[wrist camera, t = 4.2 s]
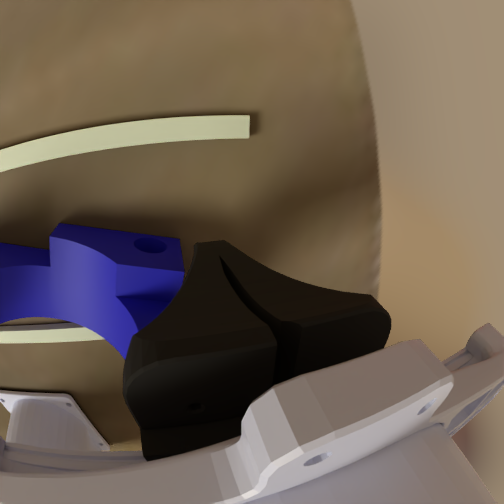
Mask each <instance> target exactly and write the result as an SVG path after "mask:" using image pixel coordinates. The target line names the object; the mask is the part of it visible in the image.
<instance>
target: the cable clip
mask: <svg viewBox="0 0 504 504" xmlns="http://www.w3.org/2000/svg"><path fill="white" fill-rule="evenodd" d="M49 241H50V250H46V249H39V248H32V247H26V246H19V245H12V244H6V243H0V324H1V323H3V322H7V321H10V320H14V319H19V318H26V317H50V318H57V319H62V320H66V321H70V322H73V323H76V324H79V325H81V326H83V327H86V328H88V329H90V330H92V331H93V332H95V333H97V334H98V335H100V336H101V337H103V338H104V339H105V340H107V341H108V342H109V343H110V344H111V345H113V346H114V347H115V348H116V349H117V350H118V351H119V352H120V354H121V355H122V356H123V358H124V359H126V355H127V351H128V347H129V344H130V341H131V338H132V336H133V335H134V334H136V333H137V332H138V331H140V330H141V329H143V328H144V327H145V326H147V325H148V324H149V323H151V322H152V321H153V320H154V319H155V318H157V317H158V316H159V315H160V314H161V313H162V311H163V310H164V309H165V308H166V307H167V306H168V305H169V304H170V302H171V301H172V300H173V298H174V297H175V295H176V294H177V293H178V291H179V289H180V288H181V286H182V283H183V278H184V265H183V259H182V253H181V246H180V239H176V238H169V237H161V236H154V235H146V234H139V233H131V232H124V231H116V230H109V229H101V228H93V227H86V226H78V225H71V224H63V223H59V224H58V226H57V227H56V228H55V230H54V231H53V232H52V234H51V235H50V236H49Z"/></svg>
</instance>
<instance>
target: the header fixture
mask: <svg viewBox="0 0 504 504" xmlns="http://www.w3.org/2000/svg"><path fill="white" fill-rule="evenodd" d="M249 125H250V116H249V115H212V116H188V117H172V118H160V119H149V120H140V121H132V122H124V123H117V124H110V125H103V126H97V127H91V128H86V129H81V130H75V131H70V132H66V133H61V134H57V135H52V136H48V137H44V138H40V139H36V140H32V141H28V142H25V143H21V144H18V145H14V146H11V147H8V148H4V149H1V150H0V172H2V171H6V170H10V169H13V168H17V167H21V166H25V165H29V164H33V163H37V162H41V161H46V160H50V159H55V158H59V157H64V156H69V155H75V154H80V153H86V152H92V151H98V150H104V149H111V148H118V147H125V146H133V145H142V144H151V143H161V142H173V141H186V140H203V139H230V138H249ZM101 339H104V338H103V337H101V336H100V335H98V334H97V333H95V332H93V331H92V330H90V329H88V328H86V327H83V326H81V325H79V324H76V323H59V324H42V325H21V326H0V343H48V342H70V341H87V340H101Z"/></svg>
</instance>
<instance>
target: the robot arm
mask: <svg viewBox="0 0 504 504" xmlns="http://www.w3.org/2000/svg"><path fill="white" fill-rule="evenodd" d="M390 330H391V318H390V315H389V313H388V312H387V311H386V310H385V309H384V308H383V307H382V306H381V305H380V304H379V303H378V302H377V300H376V299H375V298H374V297H373V296H372V295H368V294H359V293H350V292H342V291H337V290H332V289H327V288H322V287H318V286H314V285H311V284H307V283H304V282H301V281H298V280H295V279H292V278H290V277H287V276H285V275H283V274H280V273H278V272H276V271H274V270H271V269H269V268H268V267H266V266H264V265H262V264H260V263H258V262H257V261H255V260H253V259H252V258H250V257H249V256H247V255H246V254H244V253H243V252H241V251H240V250H238V249H237V248H235V247H234V246H232V245H231V244H229V243H228V242H226V241H225V240H221V241H211V242H202V243H196V244H195V245H194V257H193V260H192V264H191V267H190V269H189V272H188V274H187V276H186V278H185V280H184V282H183V284H182V286H181V288H180V289H179V291H178V293H177V294H176V295H175V297H174V298H173V300H172V301H171V302H170V304H169V305H168V306H167V307H166V308H165V309H164V310H163V311H162V313H161V314H160V315H159V316H158V317H157V318H155V319H154V320H153V321H152V322H151V323H149V324H148V325H147V326H145V327H144V328H143V329H141V330H140V331H138V332H137V333H136V334H134V335H133V336H132V338H131V341H130V344H129V347H128V351H127V355H126V359H125V365H124V371H123V396H124V399H125V402H126V404H127V406H128V408H129V410H130V412H131V413H132V415H133V417H134V419H135V421H136V422H137V424H138V426H139V427H140V431H141V442H142V451H118V452H102V451H101V450H110V446H109V444H108V443H107V442H106V441H105V440H104V438H103V437H102V436H101V435H100V434H99V432H98V431H97V430H96V429H95V427H94V426H93V425H92V424H91V422H90V421H89V420H88V418H87V417H86V416H85V415H84V413H83V412H82V410H81V409H80V408H79V406H78V405H77V404H76V402H75V401H74V399H73V398H72V397H71V396H70V395H68V394H64V393H32V392H17V391H5V390H0V402H1V403H2V404H3V405H4V406H5V407H6V409H7V410H8V411H9V412H10V413H11V416H10V421H9V426H8V432H7V437H6V441H4V439H3V438H2V437H1V436H0V504H497V502H496V501H495V499H494V498H493V496H492V495H491V493H490V492H489V490H488V489H487V487H486V486H485V484H484V483H483V481H482V480H481V479H480V477H479V476H478V474H477V473H476V471H475V470H474V469H473V467H472V466H471V464H470V463H469V462H468V460H467V459H466V457H465V456H464V455H463V453H462V452H461V450H460V449H459V448H458V446H457V445H456V444H455V442H454V441H453V439H452V438H451V436H452V435H454V434H455V433H456V432H457V431H458V430H460V429H461V428H462V427H463V426H464V425H465V424H467V423H468V422H469V421H470V420H471V419H472V418H473V417H474V416H475V415H476V414H478V413H479V412H480V411H481V410H482V409H483V408H484V407H485V406H486V405H487V404H488V403H489V402H490V401H491V400H492V399H493V398H494V397H495V396H496V395H497V394H498V392H499V391H500V390H501V389H502V388H503V386H504V336H503V335H501V334H500V333H499V332H498V331H497V330H496V329H495V328H494V327H493V326H492V325H491V324H490V323H487V324H485V325H484V326H482V327H480V328H479V329H478V330H476V331H475V332H474V333H473V334H472V336H471V337H470V339H469V340H468V342H467V344H466V347H465V348H464V349H462V350H460V351H459V352H457V353H456V354H454V355H452V356H451V357H449V358H447V359H446V360H444V361H442V362H441V361H440V360H439V359H438V358H437V357H436V356H435V355H434V354H433V352H432V351H431V350H430V349H429V348H428V347H427V346H426V345H425V344H424V343H423V342H422V341H421V340H420V339H416V340H409V341H402V342H399V343H397V344H394V345H391V346H389V347H386V348H384V346H385V344H386V342H387V339H388V337H389V334H390Z"/></svg>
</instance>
